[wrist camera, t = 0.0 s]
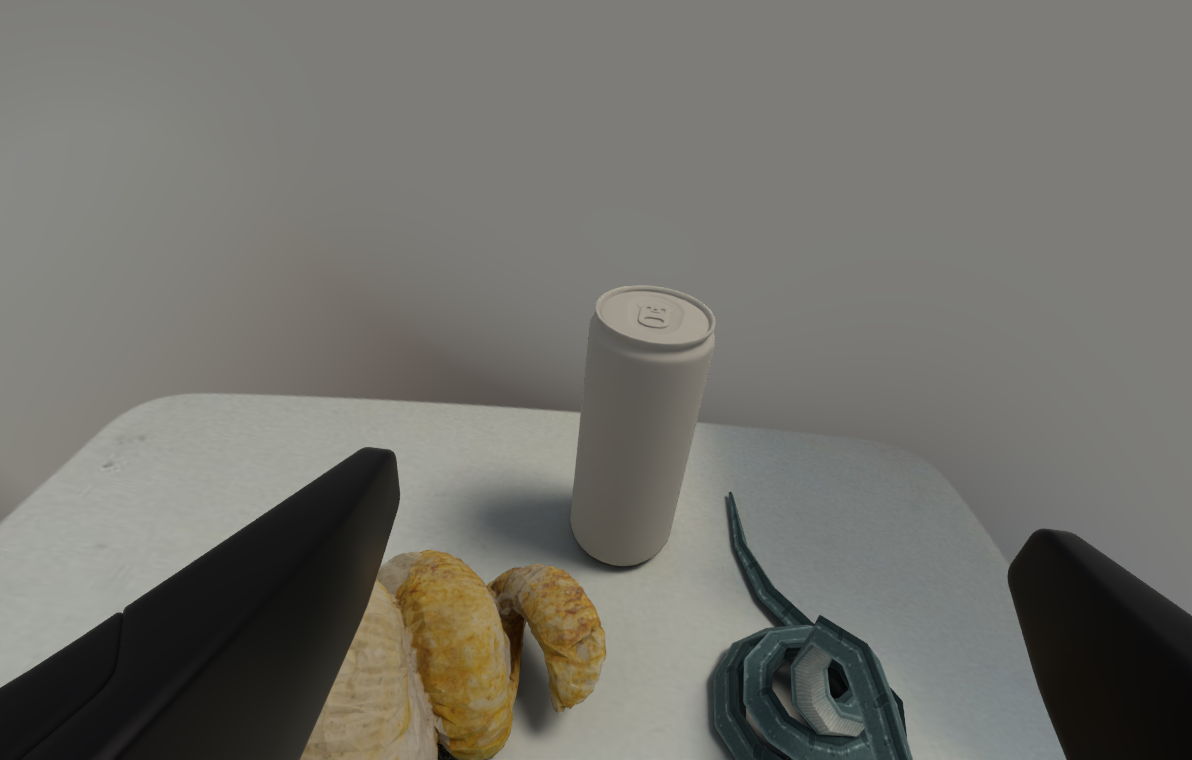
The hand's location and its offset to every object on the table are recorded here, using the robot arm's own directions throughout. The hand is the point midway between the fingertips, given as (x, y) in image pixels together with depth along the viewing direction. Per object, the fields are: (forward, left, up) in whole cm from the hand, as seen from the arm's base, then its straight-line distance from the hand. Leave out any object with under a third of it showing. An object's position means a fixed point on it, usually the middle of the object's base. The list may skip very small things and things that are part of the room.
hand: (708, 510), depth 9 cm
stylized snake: (+8, -7, -17) cm, 20 cm away
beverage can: (+15, 0, -17) cm, 22 cm away
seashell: (+5, +8, -17) cm, 19 cm away
